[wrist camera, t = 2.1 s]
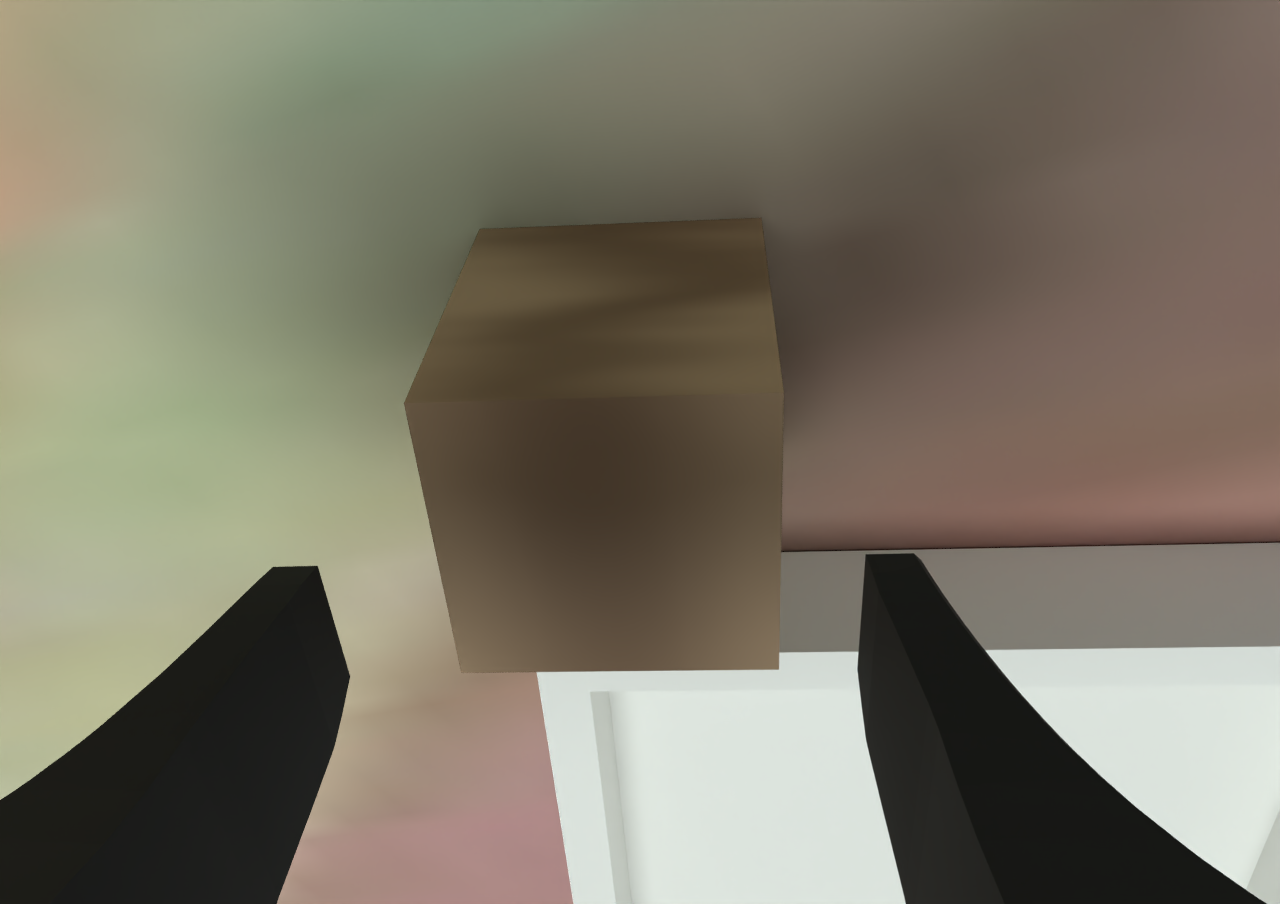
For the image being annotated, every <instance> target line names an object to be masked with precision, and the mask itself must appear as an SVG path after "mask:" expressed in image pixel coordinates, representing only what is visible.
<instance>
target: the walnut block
mask: <svg viewBox="0 0 1280 904" xmlns="http://www.w3.org/2000/svg"><path fill="white" fill-rule="evenodd" d="M404 406H405V410H406V415H407V420H408V424H409V429H410V434H411V438H412V443H413V448H414V453H415V457H416V462H417V467H418V471H419V476H420V481H421V485H422V490H423V495H424V500H425V504H426V509H427V514H428V518H429V523H430V528H431V532H432V537H433V542H434V547H435V551H436V556H437V561H438V565H439V570H440V575H441V579H442V584H443V589H444V594H445V598H446V603H447V608H448V612H449V617H450V622H451V626H452V631H453V636H454V641H455V645H456V650H457V655H458V659H459V664H460V669H461V673H496V672H595V671H694V670H779V644H780V586H781V529H782V471H783V414H784V390H783V382H782V374H781V366H780V359H779V351H778V343H777V335H776V328H775V320H774V312H773V304H772V297H771V289H770V281H769V273H768V265H767V258H766V250H765V242H764V234H763V227H762V219H761V218H745V219H720V220H695V221H670V222H644V223H619V224H594V225H569V226H544V227H519V228H494V229H479V232H478V234H477V236H476V239H475V241H474V243H473V245H472V248H471V250H470V252H469V255H468V257H467V259H466V262H465V264H464V266H463V269H462V271H461V273H460V275H459V278H458V280H457V282H456V285H455V287H454V289H453V292H452V294H451V296H450V298H449V301H448V303H447V305H446V308H445V310H444V312H443V315H442V317H441V319H440V322H439V324H438V326H437V328H436V331H435V333H434V335H433V338H432V340H431V342H430V345H429V347H428V349H427V351H426V354H425V356H424V358H423V361H422V363H421V365H420V368H419V370H418V372H417V374H416V377H415V379H414V381H413V384H412V386H411V388H410V391H409V393H408V395H407V398H406V400H405V402H404Z"/></svg>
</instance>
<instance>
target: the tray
mask: <svg viewBox="0 0 1280 904" xmlns="http://www.w3.org/2000/svg"><path fill="white" fill-rule="evenodd" d="M900 553H914V554H915V555H916V556H917V557H918V558H920V559H921V560H922V562H923V563H924V565H925V567H926V568H927V570H928V572H929V573H930V575H931V576H932V578H933V579H934V581H935V582H936V584H937V585H938V587H939V588H940V590H941V591H942V593H943V594H944V596H945V597H946V599H947V600H948V601H949V603H950V604H951V606H952V607H953V608H954V610H955V611H956V613H957V614H958V615H959V617H960V618H961V620H962V621H963V622H964V624H965V625H966V626H967V628H968V629H969V630H970V632H971V633H972V634H973V636H974V637H975V638H976V640H977V641H978V642H979V643H980V645H981V646H982V647H983V648H984V650H985V651H986V652H987V653H988V655H989V656H990V657H991V658H992V660H993V661H994V662H995V663H996V665H997V666H998V667H999V668H1000V670H1001V671H1002V672H1003V673H1004V675H1005V676H1006V677H1007V678H1008V679H1009V680H1010V682H1011V683H1012V684H1013V685H1014V686H1015V687H1016V689H1017V690H1018V691H1019V692H1020V693H1021V694H1022V696H1023V697H1024V698H1025V699H1026V700H1027V701H1028V702H1029V703H1030V704H1031V706H1032V707H1033V708H1034V709H1035V710H1036V711H1037V712H1038V713H1039V714H1040V715H1041V717H1042V718H1043V719H1044V720H1045V721H1046V722H1047V723H1048V724H1049V725H1050V726H1051V727H1052V728H1053V729H1054V730H1055V731H1056V733H1057V734H1058V735H1059V736H1060V737H1061V738H1062V739H1063V740H1064V741H1065V742H1066V743H1067V744H1068V745H1069V746H1070V747H1071V748H1072V749H1073V750H1074V751H1075V752H1076V753H1077V754H1078V755H1079V756H1080V757H1081V758H1083V759H1084V760H1085V761H1086V762H1087V763H1088V764H1089V765H1090V766H1091V767H1092V768H1093V769H1094V770H1095V771H1096V772H1097V773H1098V774H1099V775H1100V776H1102V777H1103V778H1104V779H1105V780H1106V781H1107V782H1108V783H1109V784H1110V785H1112V786H1113V787H1114V788H1115V789H1116V790H1117V791H1118V792H1120V793H1121V794H1122V795H1123V796H1124V797H1125V798H1126V799H1127V800H1129V801H1130V802H1131V803H1132V804H1133V805H1134V806H1135V807H1137V808H1138V809H1139V810H1140V811H1142V812H1143V813H1144V814H1145V815H1147V816H1148V817H1149V818H1151V819H1152V820H1153V821H1154V822H1156V823H1157V824H1158V825H1159V826H1161V827H1162V828H1163V829H1164V830H1166V831H1167V832H1168V833H1169V834H1171V835H1172V836H1173V837H1174V838H1176V839H1177V840H1178V841H1180V842H1181V843H1182V844H1183V845H1185V846H1186V847H1187V848H1188V849H1190V850H1191V851H1192V852H1194V853H1195V854H1196V855H1198V856H1199V857H1200V858H1202V859H1203V860H1204V861H1206V862H1207V863H1209V864H1210V865H1211V866H1213V867H1214V868H1216V869H1217V870H1219V871H1220V872H1221V873H1223V874H1224V875H1226V876H1227V877H1228V878H1230V879H1231V880H1233V881H1234V882H1236V883H1237V884H1238V885H1240V886H1241V887H1243V888H1244V889H1246V890H1247V891H1248V892H1250V893H1251V894H1253V895H1254V896H1256V897H1257V898H1259V899H1260V900H1262V901H1263V902H1265V903H1267V904H1280V543H1242V544H1189V545H1135V546H1082V547H1029V548H976V549H923V550H870V551H817V552H781V586H780V644H779V670H694V671H595V672H537V677H538V683H539V689H540V696H541V702H542V708H543V714H544V721H545V727H546V733H547V740H548V746H549V752H550V759H551V765H552V771H553V777H554V784H555V790H556V796H557V803H558V809H559V815H560V822H561V828H562V834H563V840H564V847H565V853H566V859H567V866H568V872H569V878H570V885H571V891H572V897H573V903H574V904H906V903H905V898H904V894H903V890H902V886H901V882H900V878H899V873H898V869H897V865H896V861H895V857H894V853H893V849H892V845H891V841H890V837H889V833H888V829H887V825H886V821H885V817H884V813H883V809H882V805H881V801H880V797H879V792H878V788H877V784H876V780H875V776H874V772H873V768H872V764H871V759H870V755H869V751H868V747H867V742H866V736H865V728H864V721H863V713H862V705H861V697H860V688H859V680H858V671H857V665H858V652H859V638H860V624H861V610H862V596H863V582H864V569H865V555H866V554H900Z"/></svg>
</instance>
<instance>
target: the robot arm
mask: <svg viewBox="0 0 1280 904" xmlns="http://www.w3.org/2000/svg"><path fill="white" fill-rule="evenodd" d="M857 671H858V680H859V688H860V697H861V705H862V713H863V721H864V728H865V736H866V742H867V747H868V751H869V755H870V759H871V764H872V768H873V772H874V776H875V780H876V784H877V788H878V792H879V797H880V801H881V805H882V809H883V813H884V817H885V821H886V825H887V829H888V833H889V837H890V841H891V845H892V849H893V853H894V857H895V861H896V865H897V869H898V873H899V878H900V882H901V886H902V890H903V894H904V898H905V903H906V904H1267V903H1265V902H1263V901H1262V900H1260V899H1259V898H1257V897H1256V896H1254V895H1253V894H1251V893H1250V892H1248V891H1247V890H1246V889H1244V888H1243V887H1241V886H1240V885H1238V884H1237V883H1236V882H1234V881H1233V880H1231V879H1230V878H1228V877H1227V876H1226V875H1224V874H1223V873H1221V872H1220V871H1219V870H1217V869H1216V868H1214V867H1213V866H1211V865H1210V864H1209V863H1207V862H1206V861H1204V860H1203V859H1202V858H1200V857H1199V856H1198V855H1196V854H1195V853H1194V852H1192V851H1191V850H1190V849H1188V848H1187V847H1186V846H1185V845H1183V844H1182V843H1181V842H1180V841H1178V840H1177V839H1176V838H1174V837H1173V836H1172V835H1171V834H1169V833H1168V832H1167V831H1166V830H1164V829H1163V828H1162V827H1161V826H1159V825H1158V824H1157V823H1156V822H1154V821H1153V820H1152V819H1151V818H1149V817H1148V816H1147V815H1145V814H1144V813H1143V812H1142V811H1140V810H1139V809H1138V808H1137V807H1135V806H1134V805H1133V804H1132V803H1131V802H1130V801H1129V800H1127V799H1126V798H1125V797H1124V796H1123V795H1122V794H1121V793H1120V792H1118V791H1117V790H1116V789H1115V788H1114V787H1113V786H1112V785H1110V784H1109V783H1108V782H1107V781H1106V780H1105V779H1104V778H1103V777H1102V776H1100V775H1099V774H1098V773H1097V772H1096V771H1095V770H1094V769H1093V768H1092V767H1091V766H1090V765H1089V764H1088V763H1087V762H1086V761H1085V760H1084V759H1083V758H1081V757H1080V756H1079V755H1078V754H1077V753H1076V752H1075V751H1074V750H1073V749H1072V748H1071V747H1070V746H1069V745H1068V744H1067V743H1066V742H1065V741H1064V740H1063V739H1062V738H1061V737H1060V736H1059V735H1058V734H1057V733H1056V731H1055V730H1054V729H1053V728H1052V727H1051V726H1050V725H1049V724H1048V723H1047V722H1046V721H1045V720H1044V719H1043V718H1042V717H1041V715H1040V714H1039V713H1038V712H1037V711H1036V710H1035V709H1034V708H1033V707H1032V706H1031V704H1030V703H1029V702H1028V701H1027V700H1026V699H1025V698H1024V697H1023V696H1022V694H1021V693H1020V692H1019V691H1018V690H1017V689H1016V687H1015V686H1014V685H1013V684H1012V683H1011V682H1010V680H1009V679H1008V678H1007V677H1006V676H1005V675H1004V673H1003V672H1002V671H1001V670H1000V668H999V667H998V666H997V665H996V663H995V662H994V661H993V660H992V658H991V657H990V656H989V655H988V653H987V652H986V651H985V650H984V648H983V647H982V646H981V645H980V643H979V642H978V641H977V640H976V638H975V637H974V636H973V634H972V633H971V632H970V630H969V629H968V628H967V626H966V625H965V624H964V622H963V621H962V620H961V618H960V617H959V615H958V614H957V613H956V611H955V610H954V608H953V607H952V606H951V604H950V603H949V601H948V600H947V599H946V597H945V596H944V594H943V593H942V591H941V590H940V588H939V587H938V585H937V584H936V582H935V581H934V579H933V578H932V576H931V575H930V573H929V572H928V570H927V568H926V567H925V565H924V563H923V562H922V560H921V559H920V558H918V557H917V556H916V555H915V554H914V553H900V554H866V555H865V569H864V582H863V596H862V610H861V624H860V638H859V652H858V665H857ZM349 679H350V675H349V671H348V668H347V664H346V661H345V658H344V654H343V651H342V647H341V644H340V641H339V637H338V634H337V630H336V627H335V624H334V620H333V617H332V613H331V610H330V607H329V603H328V600H327V596H326V593H325V590H324V586H323V583H322V579H321V576H320V573H319V569H318V566H295V567H273V568H271V569H270V570H269V571H268V572H267V573H266V574H265V575H264V576H263V577H262V578H260V579H259V580H258V581H257V582H256V583H255V584H254V585H253V586H252V587H251V588H250V589H249V590H248V591H247V592H246V593H245V594H244V595H243V596H242V597H241V598H240V599H239V600H238V601H237V602H236V603H235V604H234V605H233V606H232V607H230V608H229V609H228V610H227V611H226V612H225V613H224V614H223V615H222V616H221V617H220V618H219V619H218V620H217V621H216V622H215V623H214V624H213V625H212V626H211V627H210V628H209V629H208V630H207V631H206V632H205V633H204V634H203V635H202V636H201V637H199V638H198V639H197V640H196V641H195V642H194V643H193V644H192V645H191V646H190V647H189V648H188V649H187V650H186V651H185V652H184V653H183V654H181V655H180V656H179V657H178V658H177V659H176V660H175V661H174V662H173V663H172V664H171V665H170V666H169V667H168V668H167V669H166V670H165V671H163V672H162V673H161V674H160V675H159V676H158V677H157V678H156V679H154V680H153V681H152V682H151V683H150V684H149V685H147V686H146V687H145V688H144V689H143V690H142V691H141V692H139V693H138V694H137V695H136V696H135V697H134V698H132V699H131V700H130V701H129V702H128V703H127V704H126V705H124V706H123V707H122V708H121V709H120V710H119V711H118V712H116V713H115V714H114V715H113V716H112V717H111V718H109V719H108V720H107V721H106V722H105V723H104V724H103V725H101V726H100V727H99V728H98V729H96V730H95V731H94V732H93V733H91V734H90V735H89V736H88V737H86V738H85V739H84V740H83V741H81V742H80V743H79V744H78V745H76V746H75V747H74V748H72V749H71V750H70V751H69V752H67V753H66V754H65V755H63V756H62V757H61V758H59V759H58V760H56V761H55V762H54V763H52V764H51V765H50V766H48V767H47V768H46V769H44V770H43V771H42V772H40V773H39V774H37V775H36V776H35V777H33V778H32V779H31V780H29V781H28V782H26V783H25V784H24V785H22V786H21V787H19V788H18V789H16V790H15V791H13V792H12V793H10V794H9V795H7V796H6V797H4V798H3V799H1V800H0V904H277V901H278V898H279V895H280V892H281V890H282V887H283V884H284V882H285V879H286V876H287V874H288V871H289V868H290V866H291V863H292V860H293V858H294V855H295V852H296V849H297V847H298V844H299V841H300V839H301V836H302V833H303V831H304V828H305V825H306V823H307V820H308V818H309V815H310V812H311V810H312V807H313V804H314V802H315V799H316V796H317V793H318V791H319V788H320V785H321V782H322V780H323V777H324V774H325V771H326V769H327V766H328V763H329V760H330V757H331V755H332V752H333V749H334V746H335V742H336V738H337V734H338V729H339V725H340V721H341V717H342V713H343V708H344V703H345V698H346V693H347V689H348V684H349Z"/></svg>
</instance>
